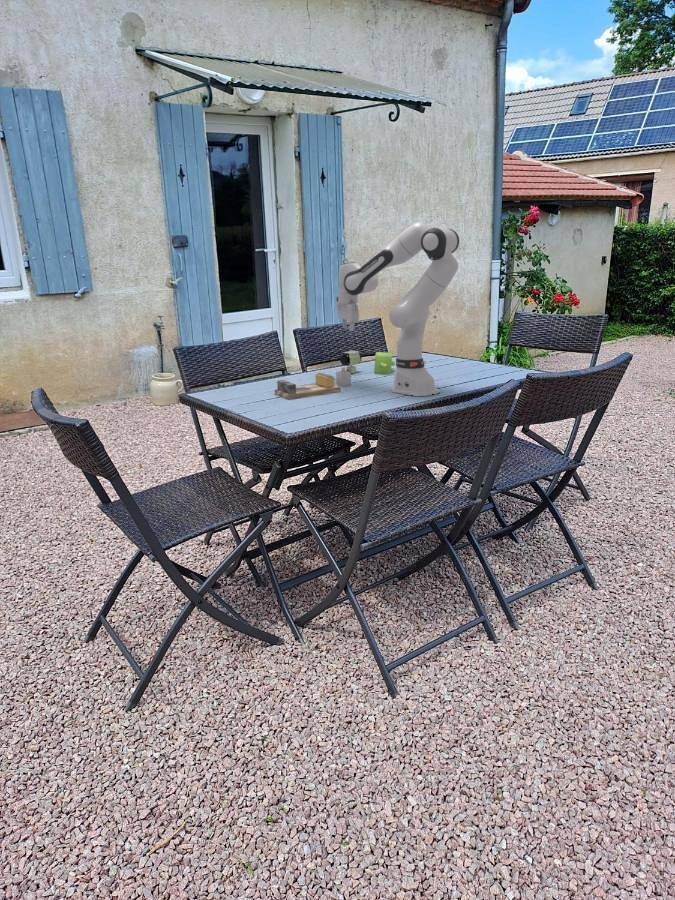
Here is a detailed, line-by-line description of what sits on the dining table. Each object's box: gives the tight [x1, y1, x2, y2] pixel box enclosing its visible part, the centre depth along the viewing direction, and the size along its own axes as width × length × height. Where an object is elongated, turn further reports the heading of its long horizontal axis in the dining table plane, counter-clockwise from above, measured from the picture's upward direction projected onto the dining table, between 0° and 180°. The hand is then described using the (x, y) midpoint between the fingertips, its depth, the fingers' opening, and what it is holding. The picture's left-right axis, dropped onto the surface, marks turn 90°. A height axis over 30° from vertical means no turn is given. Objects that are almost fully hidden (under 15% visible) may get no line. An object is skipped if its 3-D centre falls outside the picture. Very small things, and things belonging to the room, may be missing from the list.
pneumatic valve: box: [339, 349, 363, 375], centre depth 338 cm, size 6×12×12 cm, turn 136°
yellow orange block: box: [315, 372, 335, 387], centre depth 302 cm, size 10×4×5 cm, turn 31°
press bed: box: [274, 379, 342, 401], centre depth 298 cm, size 14×26×6 cm, turn 121°
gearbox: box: [374, 351, 396, 375], centre depth 339 cm, size 18×10×10 cm, turn 175°
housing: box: [335, 367, 352, 387], centre depth 313 cm, size 5×5×8 cm
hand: (348, 329), depth 309 cm, fingers open, 8 cm apart
